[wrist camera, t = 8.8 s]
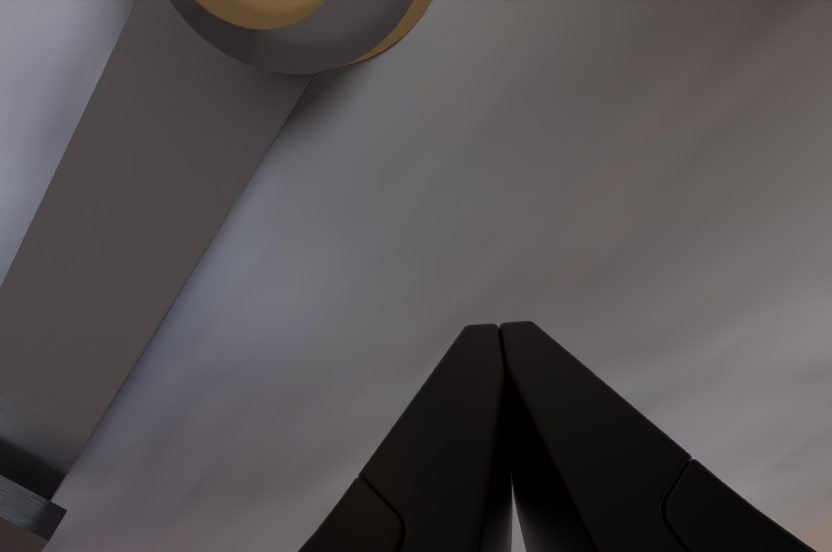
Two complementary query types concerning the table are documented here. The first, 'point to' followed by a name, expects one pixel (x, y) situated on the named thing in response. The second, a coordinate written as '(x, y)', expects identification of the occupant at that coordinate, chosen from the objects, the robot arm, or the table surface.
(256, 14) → the pintle
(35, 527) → the keeper
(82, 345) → the link
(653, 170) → the table surface
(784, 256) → the table surface
